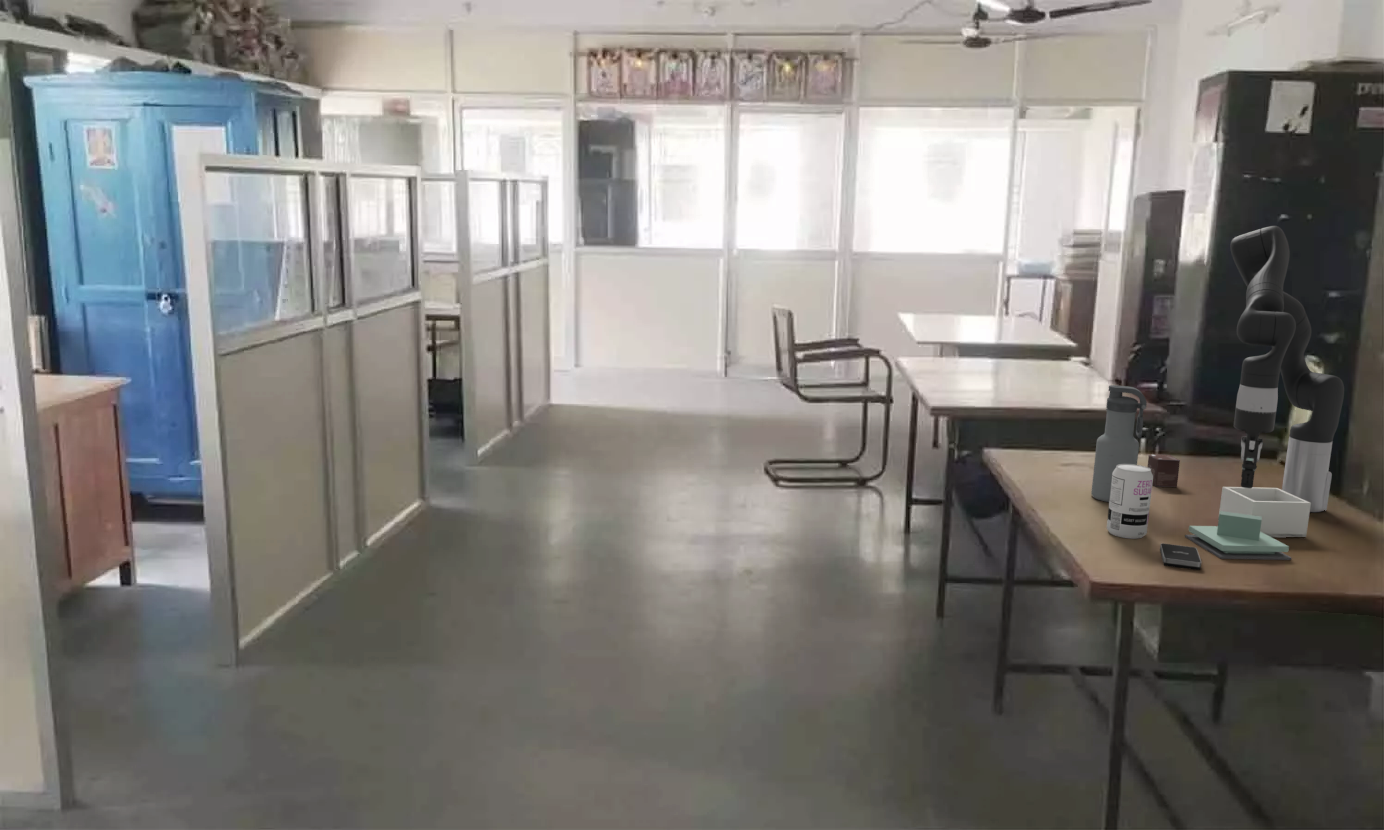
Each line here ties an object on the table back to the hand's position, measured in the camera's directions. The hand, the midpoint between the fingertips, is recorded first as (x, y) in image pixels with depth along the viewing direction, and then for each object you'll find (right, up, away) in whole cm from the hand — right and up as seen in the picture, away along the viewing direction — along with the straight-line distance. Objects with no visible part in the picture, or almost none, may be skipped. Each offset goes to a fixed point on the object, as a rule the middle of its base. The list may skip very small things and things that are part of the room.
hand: (1246, 483), depth 229 cm
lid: (-1, -13, +3) cm, 13 cm away
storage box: (+13, -12, +18) cm, 25 cm away
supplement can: (-21, -12, +11) cm, 26 cm away
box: (+7, -4, +57) cm, 58 cm away
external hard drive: (-17, -16, -7) cm, 24 cm away
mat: (-1, -14, +3) cm, 14 cm away
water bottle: (-13, -7, +41) cm, 43 cm away
